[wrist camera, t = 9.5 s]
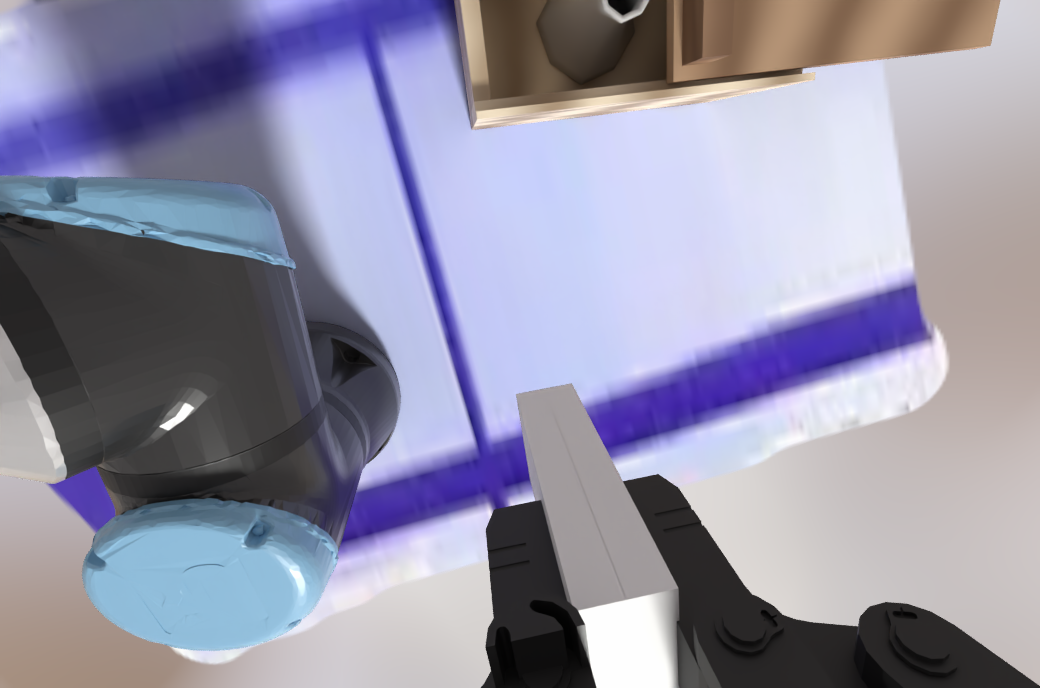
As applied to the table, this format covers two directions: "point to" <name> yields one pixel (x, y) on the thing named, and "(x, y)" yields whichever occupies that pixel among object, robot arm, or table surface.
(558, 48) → the flask
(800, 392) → the table surface
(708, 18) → the lid
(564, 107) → the box
